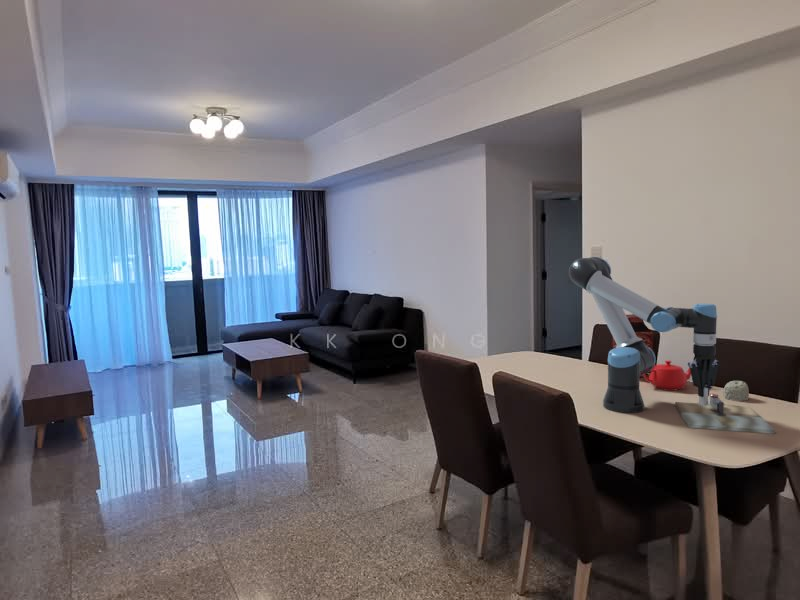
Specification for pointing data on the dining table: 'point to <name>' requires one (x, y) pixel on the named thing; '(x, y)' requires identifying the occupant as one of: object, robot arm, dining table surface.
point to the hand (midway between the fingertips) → (703, 404)
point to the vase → (640, 332)
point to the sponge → (736, 391)
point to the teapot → (668, 376)
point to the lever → (715, 402)
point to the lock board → (723, 418)
